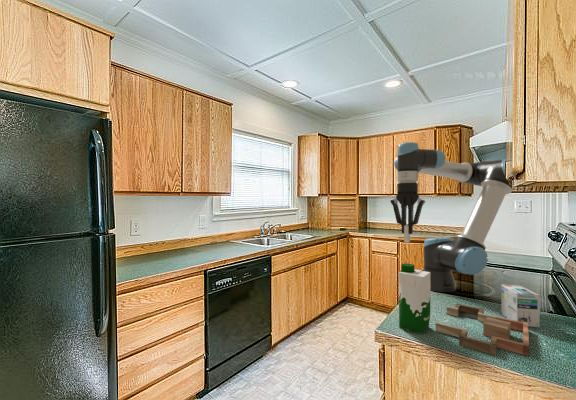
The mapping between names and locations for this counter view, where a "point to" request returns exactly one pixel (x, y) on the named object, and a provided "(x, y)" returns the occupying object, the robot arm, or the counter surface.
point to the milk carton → (414, 299)
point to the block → (496, 328)
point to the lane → (501, 343)
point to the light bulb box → (520, 304)
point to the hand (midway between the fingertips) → (407, 241)
